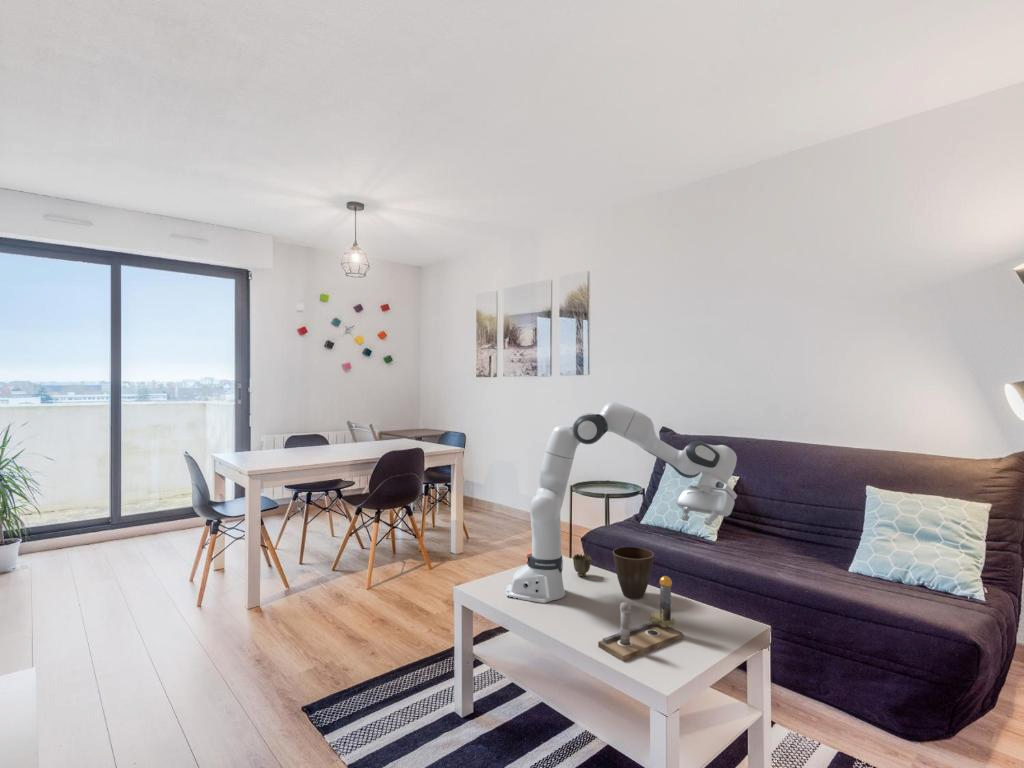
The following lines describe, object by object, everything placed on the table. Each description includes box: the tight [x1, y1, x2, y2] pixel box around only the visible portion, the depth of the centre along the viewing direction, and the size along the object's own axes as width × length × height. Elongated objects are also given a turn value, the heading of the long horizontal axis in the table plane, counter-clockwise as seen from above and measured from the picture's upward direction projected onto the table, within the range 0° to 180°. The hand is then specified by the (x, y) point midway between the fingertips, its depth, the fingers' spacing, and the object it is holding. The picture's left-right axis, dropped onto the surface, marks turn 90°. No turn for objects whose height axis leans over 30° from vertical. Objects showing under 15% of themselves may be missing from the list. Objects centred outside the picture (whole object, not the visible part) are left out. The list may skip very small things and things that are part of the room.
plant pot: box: [612, 546, 655, 600], centre depth 191 cm, size 15×15×16 cm
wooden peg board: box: [597, 601, 684, 662], centre depth 155 cm, size 26×10×13 cm, turn 124°
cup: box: [572, 553, 592, 578], centre depth 212 cm, size 8×7×8 cm
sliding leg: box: [649, 575, 675, 627], centre depth 162 cm, size 4×6×16 cm
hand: (695, 522), depth 173 cm, fingers open, 8 cm apart
